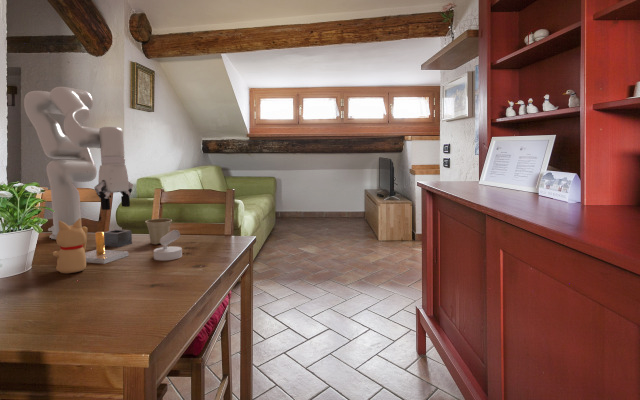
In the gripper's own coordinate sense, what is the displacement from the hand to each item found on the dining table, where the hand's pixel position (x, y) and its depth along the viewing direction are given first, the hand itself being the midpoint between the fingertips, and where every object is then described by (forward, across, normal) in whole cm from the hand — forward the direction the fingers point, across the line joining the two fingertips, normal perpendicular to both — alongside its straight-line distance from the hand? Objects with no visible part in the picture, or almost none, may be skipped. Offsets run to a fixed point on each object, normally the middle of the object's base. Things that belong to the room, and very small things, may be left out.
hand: (116, 208), depth 140 cm
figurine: (+14, +31, +12) cm, 36 cm away
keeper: (+14, +18, +9) cm, 25 cm away
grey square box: (+14, 0, -1) cm, 14 cm away
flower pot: (+14, -7, +12) cm, 20 cm away
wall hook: (+15, +11, +29) cm, 34 cm away
